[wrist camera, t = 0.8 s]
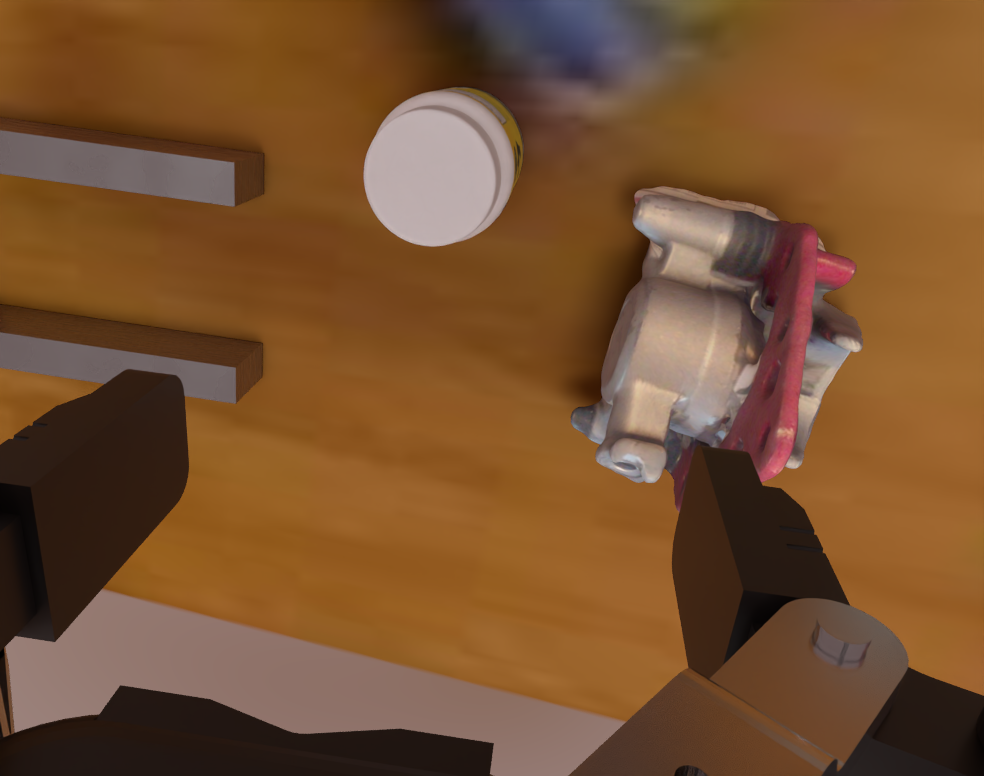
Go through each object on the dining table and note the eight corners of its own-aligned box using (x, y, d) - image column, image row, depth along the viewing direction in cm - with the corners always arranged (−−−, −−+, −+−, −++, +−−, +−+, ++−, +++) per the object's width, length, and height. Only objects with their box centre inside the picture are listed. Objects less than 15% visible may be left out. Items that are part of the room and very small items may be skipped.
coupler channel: (-63, 108, 33) (-122, 113, 30) (263, 153, 32) (234, 162, 29) (-30, 332, 36) (-81, 355, 34) (262, 376, 36) (235, 403, 33)
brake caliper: (830, 525, 33) (694, 624, 24) (620, 400, 39) (449, 443, 30) (969, 267, 29) (864, 272, 20) (709, 171, 35) (538, 142, 26)
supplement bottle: (489, 233, 32) (461, 289, 25) (384, 175, 32) (323, 213, 24) (548, 124, 31) (538, 147, 23) (438, 61, 30) (390, 62, 22)
